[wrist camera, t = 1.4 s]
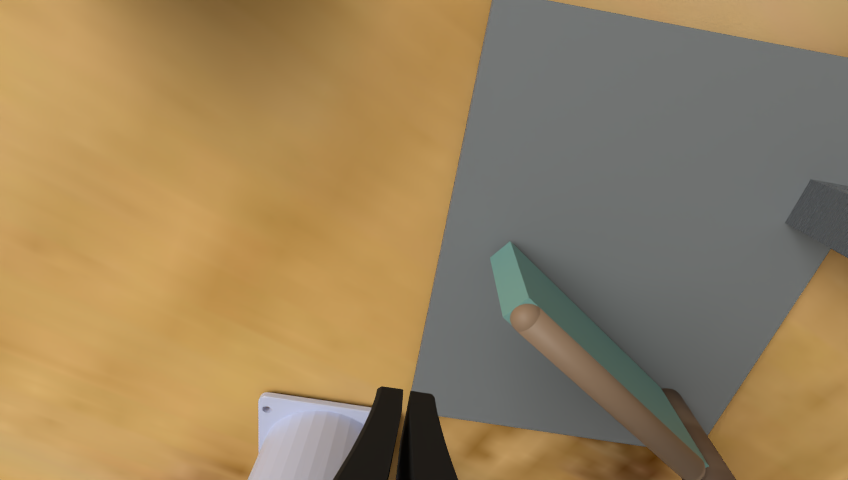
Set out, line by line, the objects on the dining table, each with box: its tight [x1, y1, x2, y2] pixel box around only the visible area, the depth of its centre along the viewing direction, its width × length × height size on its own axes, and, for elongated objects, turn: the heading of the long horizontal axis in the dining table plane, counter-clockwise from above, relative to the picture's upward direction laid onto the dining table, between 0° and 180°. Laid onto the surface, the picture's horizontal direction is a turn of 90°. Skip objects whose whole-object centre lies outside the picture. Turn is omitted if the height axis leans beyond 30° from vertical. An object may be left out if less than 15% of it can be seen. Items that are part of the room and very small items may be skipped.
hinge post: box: [662, 388, 736, 480], centre depth 21 cm, size 2×2×6 cm
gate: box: [490, 241, 709, 480], centre depth 19 cm, size 12×1×5 cm, turn 46°
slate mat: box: [411, 0, 848, 447], centre depth 20 cm, size 21×17×1 cm
